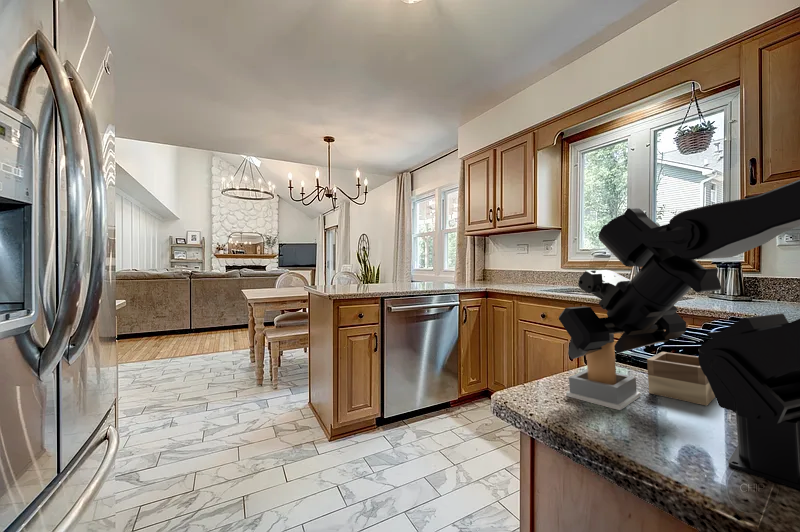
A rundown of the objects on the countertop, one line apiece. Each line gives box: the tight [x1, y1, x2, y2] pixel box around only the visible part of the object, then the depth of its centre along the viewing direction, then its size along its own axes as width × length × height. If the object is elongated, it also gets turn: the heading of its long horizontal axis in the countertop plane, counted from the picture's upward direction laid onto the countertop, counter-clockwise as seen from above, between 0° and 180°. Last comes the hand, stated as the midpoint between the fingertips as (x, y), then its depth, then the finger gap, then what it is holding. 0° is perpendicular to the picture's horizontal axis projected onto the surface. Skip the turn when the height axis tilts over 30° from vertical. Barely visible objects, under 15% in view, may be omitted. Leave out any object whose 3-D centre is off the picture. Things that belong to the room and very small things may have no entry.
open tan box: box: [646, 351, 716, 406], centre depth 55 cm, size 7×7×6 cm
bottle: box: [586, 334, 617, 385], centre depth 56 cm, size 4×4×10 cm
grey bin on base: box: [565, 368, 642, 411], centre depth 56 cm, size 8×8×3 cm
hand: (593, 353), depth 57 cm, fingers open, 9 cm apart
